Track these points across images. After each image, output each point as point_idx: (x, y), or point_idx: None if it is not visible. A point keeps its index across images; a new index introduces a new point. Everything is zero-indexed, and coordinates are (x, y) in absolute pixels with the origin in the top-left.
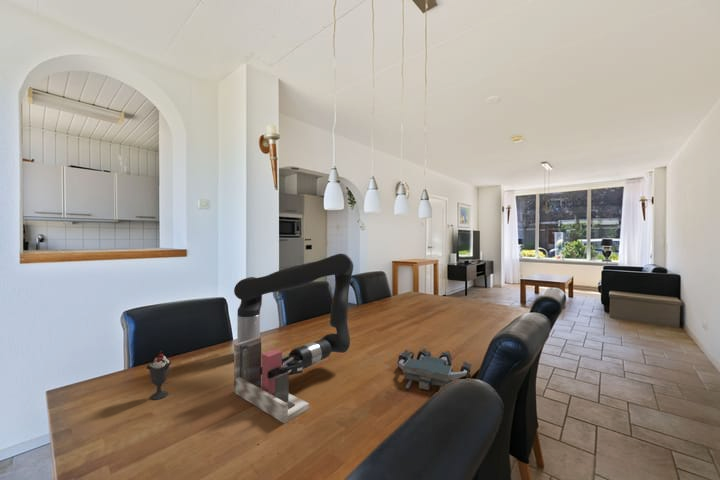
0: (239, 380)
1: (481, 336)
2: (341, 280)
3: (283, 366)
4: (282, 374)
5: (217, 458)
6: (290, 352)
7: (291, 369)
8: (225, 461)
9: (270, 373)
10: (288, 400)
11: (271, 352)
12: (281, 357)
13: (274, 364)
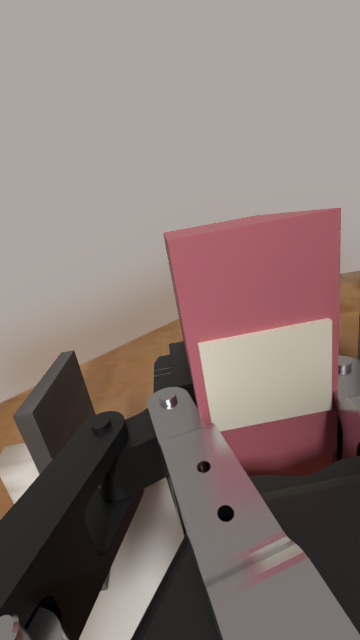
0: None
1: None
2: None
3: (152, 418)
4: (52, 380)
5: (109, 366)
6: None
7: (84, 536)
8: (89, 373)
9: (169, 359)
10: (107, 607)
11: (240, 221)
12: (182, 320)
13: (182, 332)
